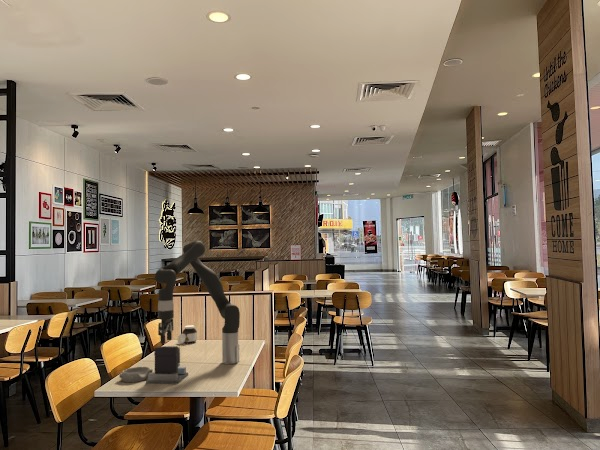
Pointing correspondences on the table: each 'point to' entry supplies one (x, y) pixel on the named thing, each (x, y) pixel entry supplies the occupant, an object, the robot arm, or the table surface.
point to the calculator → (166, 359)
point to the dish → (135, 374)
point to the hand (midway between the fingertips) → (166, 341)
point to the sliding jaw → (180, 369)
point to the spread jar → (188, 335)
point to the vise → (165, 378)
